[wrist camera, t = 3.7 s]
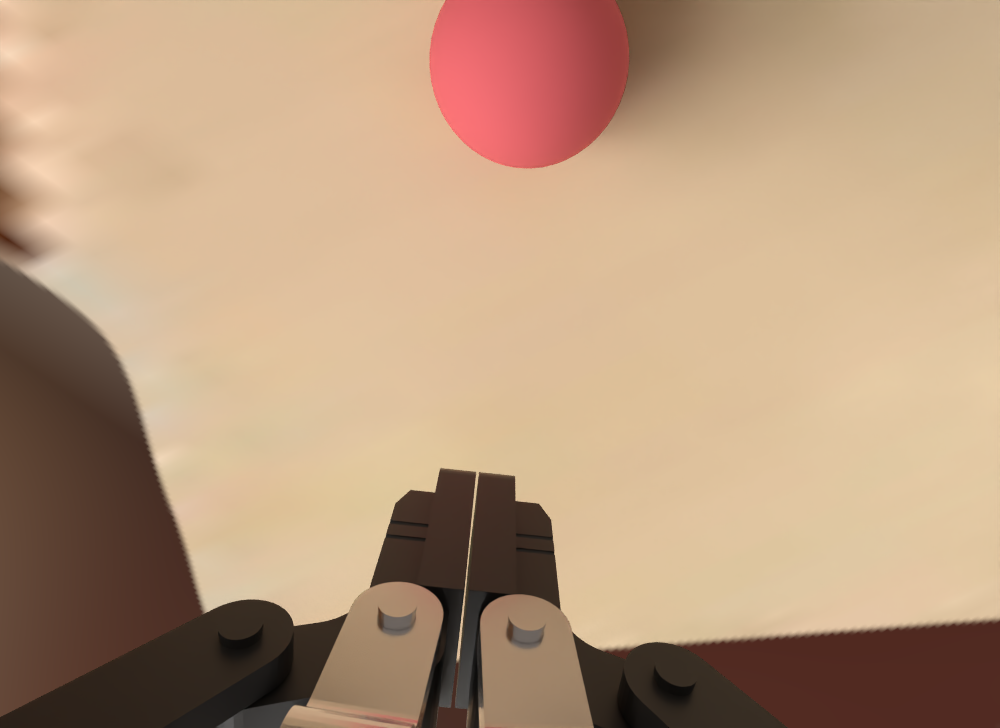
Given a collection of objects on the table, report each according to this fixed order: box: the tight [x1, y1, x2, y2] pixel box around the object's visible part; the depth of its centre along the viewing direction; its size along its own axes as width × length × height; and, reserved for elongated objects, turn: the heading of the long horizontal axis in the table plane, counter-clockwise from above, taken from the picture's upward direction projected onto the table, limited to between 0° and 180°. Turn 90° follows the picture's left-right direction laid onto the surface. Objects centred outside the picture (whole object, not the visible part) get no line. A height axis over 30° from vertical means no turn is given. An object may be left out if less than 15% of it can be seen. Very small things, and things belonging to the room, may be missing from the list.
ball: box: [430, 0, 629, 168], centre depth 20 cm, size 6×6×6 cm
